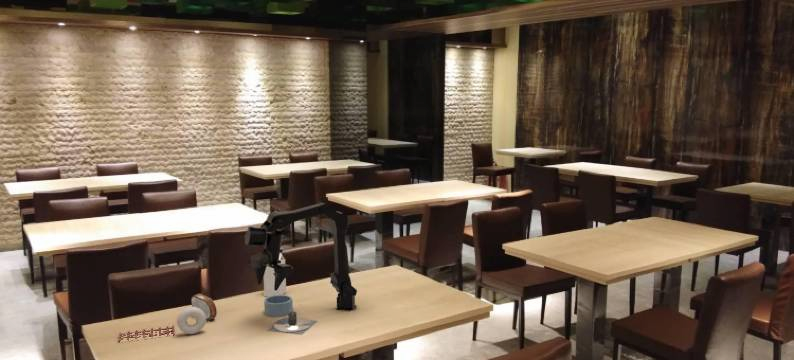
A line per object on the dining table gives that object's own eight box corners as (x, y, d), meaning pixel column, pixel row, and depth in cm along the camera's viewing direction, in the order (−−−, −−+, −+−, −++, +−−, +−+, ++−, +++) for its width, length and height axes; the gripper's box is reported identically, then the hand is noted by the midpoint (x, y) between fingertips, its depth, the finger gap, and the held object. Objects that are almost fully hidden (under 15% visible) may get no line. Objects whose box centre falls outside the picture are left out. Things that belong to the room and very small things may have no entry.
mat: (317, 322, 233) (317, 320, 233) (301, 335, 220) (301, 334, 220) (284, 318, 237) (284, 317, 237) (266, 331, 224) (266, 330, 224)
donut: (206, 330, 226) (204, 303, 224) (207, 333, 223) (206, 306, 221) (177, 334, 222) (175, 307, 220) (178, 337, 219) (176, 310, 217)
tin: (217, 320, 235) (216, 299, 234) (210, 323, 233) (209, 301, 232) (197, 311, 245) (196, 291, 244) (190, 313, 243) (189, 293, 242)
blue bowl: (297, 309, 247) (296, 296, 246) (284, 318, 236) (284, 305, 236) (272, 307, 250) (272, 293, 249) (259, 316, 239) (259, 302, 239)
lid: (317, 321, 233) (316, 308, 232) (301, 334, 220) (301, 321, 219) (284, 317, 237) (284, 305, 236) (267, 330, 224) (266, 317, 223)
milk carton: (279, 297, 261) (278, 254, 259) (264, 296, 263) (262, 253, 260) (286, 292, 268) (284, 250, 266) (270, 291, 270) (269, 249, 267)
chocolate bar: (118, 337, 221) (117, 331, 221) (174, 329, 228) (173, 324, 227) (116, 344, 214) (116, 339, 214) (174, 336, 221) (174, 331, 221)
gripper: (239, 241, 228) (234, 283, 229) (273, 252, 217) (267, 296, 218) (263, 240, 237) (257, 280, 238) (296, 251, 226) (290, 292, 227)
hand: (267, 287), depth 230 cm, fingers open, 9 cm apart
